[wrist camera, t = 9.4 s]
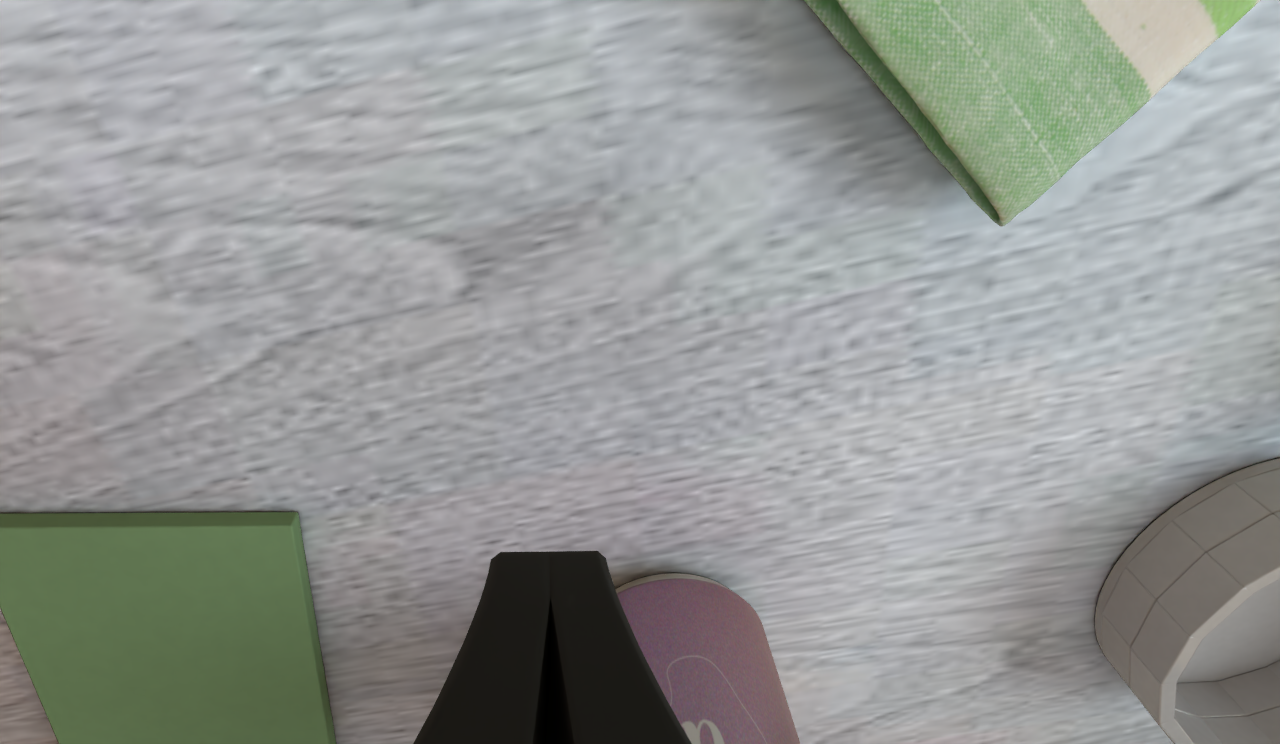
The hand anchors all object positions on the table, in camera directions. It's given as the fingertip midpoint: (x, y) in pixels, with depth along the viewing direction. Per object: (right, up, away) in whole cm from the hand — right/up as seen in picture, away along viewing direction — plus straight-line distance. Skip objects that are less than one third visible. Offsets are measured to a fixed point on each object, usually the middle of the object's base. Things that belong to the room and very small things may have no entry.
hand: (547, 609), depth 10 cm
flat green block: (-12, -5, +12) cm, 18 cm away
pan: (+21, -4, +16) cm, 26 cm away
